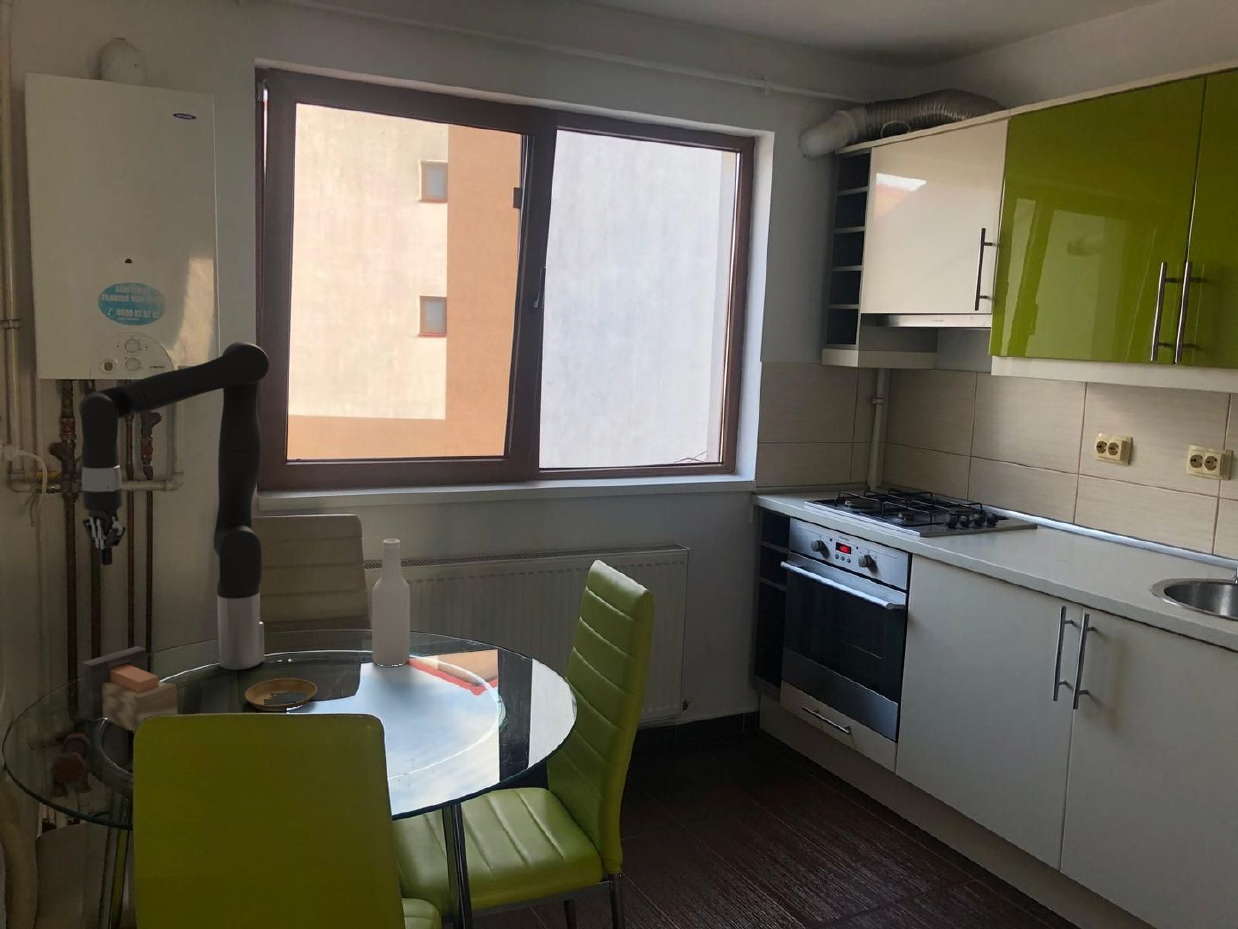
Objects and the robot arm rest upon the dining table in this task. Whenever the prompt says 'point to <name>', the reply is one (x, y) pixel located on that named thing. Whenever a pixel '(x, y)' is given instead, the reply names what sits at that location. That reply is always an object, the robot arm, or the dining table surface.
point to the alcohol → (391, 610)
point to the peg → (132, 678)
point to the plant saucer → (279, 686)
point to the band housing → (124, 691)
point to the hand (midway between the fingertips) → (105, 564)
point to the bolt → (71, 758)
